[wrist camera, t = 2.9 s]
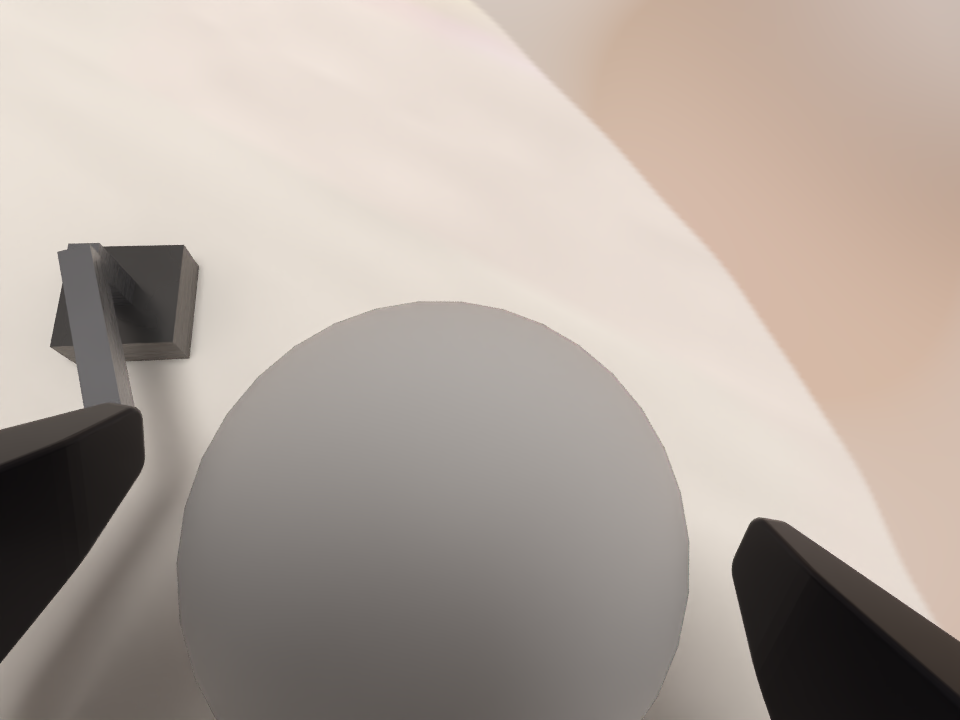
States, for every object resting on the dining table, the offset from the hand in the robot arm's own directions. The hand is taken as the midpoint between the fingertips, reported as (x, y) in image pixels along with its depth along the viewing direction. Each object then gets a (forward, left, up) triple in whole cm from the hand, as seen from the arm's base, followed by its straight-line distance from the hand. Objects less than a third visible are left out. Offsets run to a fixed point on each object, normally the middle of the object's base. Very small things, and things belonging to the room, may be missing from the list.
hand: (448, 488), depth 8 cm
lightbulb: (-1, -1, -7) cm, 8 cm away
